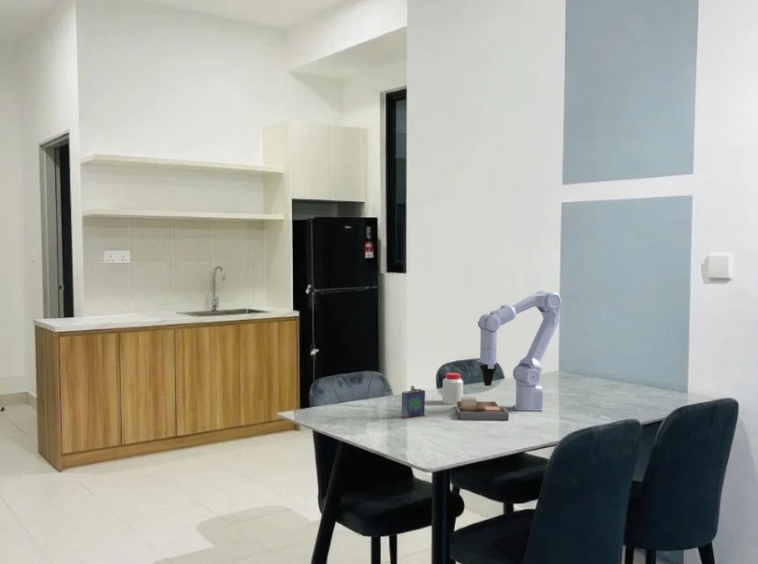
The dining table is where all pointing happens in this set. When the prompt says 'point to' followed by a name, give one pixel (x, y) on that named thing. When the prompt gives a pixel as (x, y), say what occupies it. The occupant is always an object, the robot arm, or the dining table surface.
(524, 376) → the robot arm
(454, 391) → the pill bottle
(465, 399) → the tile cream
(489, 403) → the board
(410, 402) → the flask
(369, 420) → the dining table surface
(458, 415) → the tray
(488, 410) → the tile terracotta
